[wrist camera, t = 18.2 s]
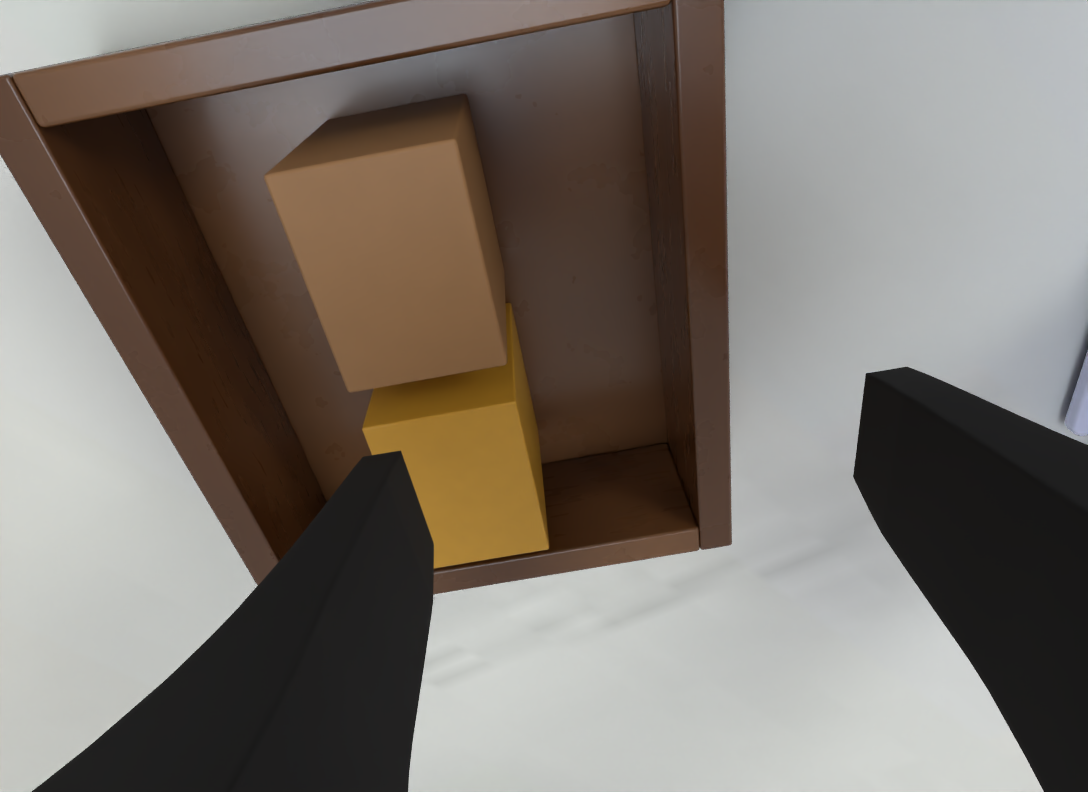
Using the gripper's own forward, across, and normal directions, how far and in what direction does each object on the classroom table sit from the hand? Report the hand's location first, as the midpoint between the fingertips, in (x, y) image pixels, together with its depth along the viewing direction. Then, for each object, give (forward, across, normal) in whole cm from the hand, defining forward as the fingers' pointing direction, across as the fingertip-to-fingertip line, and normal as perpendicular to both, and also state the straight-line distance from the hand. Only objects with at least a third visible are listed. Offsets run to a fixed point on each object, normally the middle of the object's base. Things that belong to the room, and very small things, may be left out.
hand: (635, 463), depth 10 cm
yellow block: (+7, +3, +2) cm, 8 cm away
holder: (+7, +3, 0) cm, 8 cm away
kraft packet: (+7, +3, -3) cm, 8 cm away
